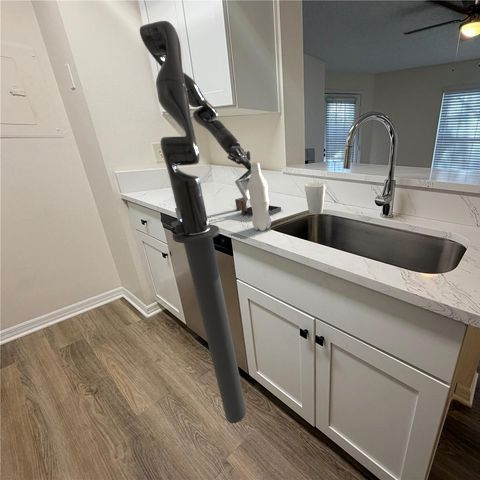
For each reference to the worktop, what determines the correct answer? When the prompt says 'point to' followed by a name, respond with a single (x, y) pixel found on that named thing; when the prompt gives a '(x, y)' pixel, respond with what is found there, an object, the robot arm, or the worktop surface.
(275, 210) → the tray
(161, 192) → the worktop surface
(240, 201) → the cradle
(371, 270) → the worktop surface
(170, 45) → the robot arm
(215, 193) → the worktop surface
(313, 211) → the foam cup
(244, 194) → the gray angle bracket
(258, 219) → the water bottle
